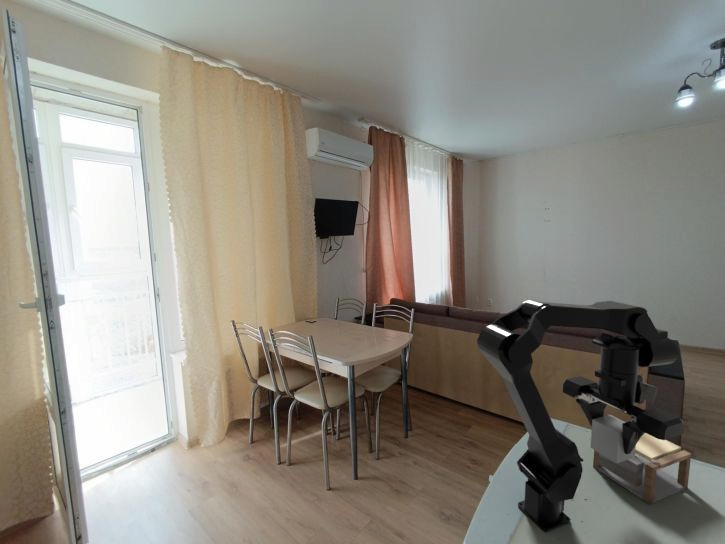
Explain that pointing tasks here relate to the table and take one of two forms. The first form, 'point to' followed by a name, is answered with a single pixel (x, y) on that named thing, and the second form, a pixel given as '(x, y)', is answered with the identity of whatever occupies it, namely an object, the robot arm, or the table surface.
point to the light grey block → (609, 438)
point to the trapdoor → (634, 467)
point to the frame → (653, 466)
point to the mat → (663, 483)
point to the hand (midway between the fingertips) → (612, 445)
